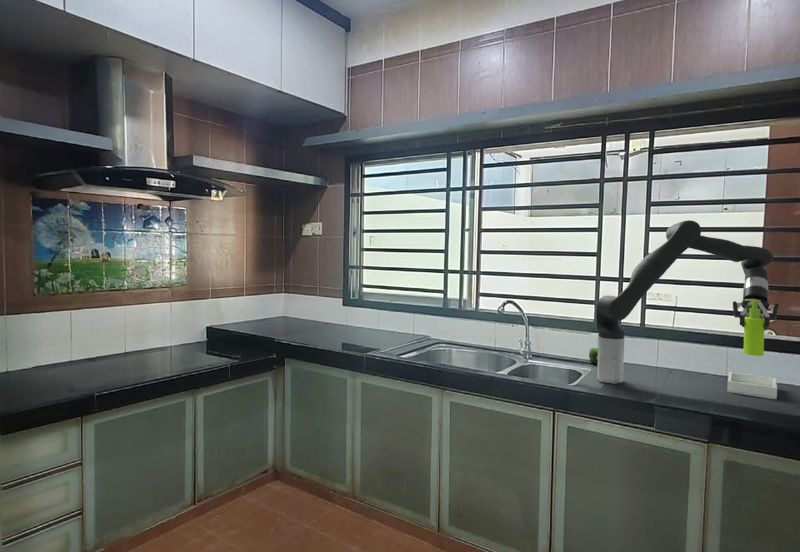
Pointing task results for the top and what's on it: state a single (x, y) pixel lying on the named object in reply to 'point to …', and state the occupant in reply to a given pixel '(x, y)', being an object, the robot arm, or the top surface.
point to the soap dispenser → (754, 331)
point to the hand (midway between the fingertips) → (754, 326)
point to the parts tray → (752, 385)
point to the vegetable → (594, 355)
